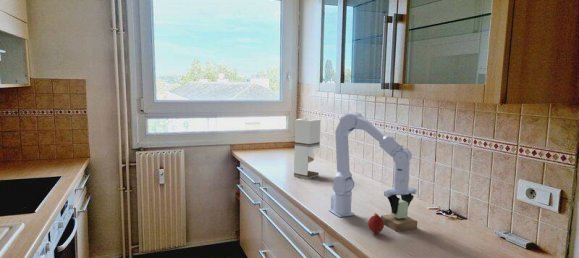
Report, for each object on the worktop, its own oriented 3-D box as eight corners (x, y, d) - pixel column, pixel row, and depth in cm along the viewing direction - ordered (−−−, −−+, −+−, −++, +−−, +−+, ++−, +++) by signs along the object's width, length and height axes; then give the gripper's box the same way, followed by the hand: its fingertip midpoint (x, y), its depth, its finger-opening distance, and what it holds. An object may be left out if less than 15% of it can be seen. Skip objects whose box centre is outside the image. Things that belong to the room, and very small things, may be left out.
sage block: (391, 214, 152) (392, 200, 151) (399, 213, 154) (400, 199, 153) (398, 218, 148) (399, 203, 147) (407, 217, 150) (408, 202, 149)
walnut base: (380, 222, 154) (380, 215, 154) (400, 220, 158) (400, 213, 158) (396, 231, 145) (396, 224, 144) (417, 228, 149) (417, 221, 148)
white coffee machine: (308, 179, 224) (310, 120, 221) (293, 176, 231) (295, 119, 227) (318, 175, 234) (320, 119, 230) (304, 173, 240) (306, 118, 236)
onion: (381, 230, 145) (382, 210, 144) (385, 236, 139) (386, 215, 139) (366, 230, 145) (367, 210, 144) (369, 236, 139) (370, 215, 138)
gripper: (392, 183, 143) (390, 217, 144) (422, 180, 148) (420, 213, 150) (381, 178, 149) (379, 212, 151) (410, 176, 155) (408, 208, 156)
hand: (399, 212), depth 151 cm, fingers closed on sage block, 4 cm apart
